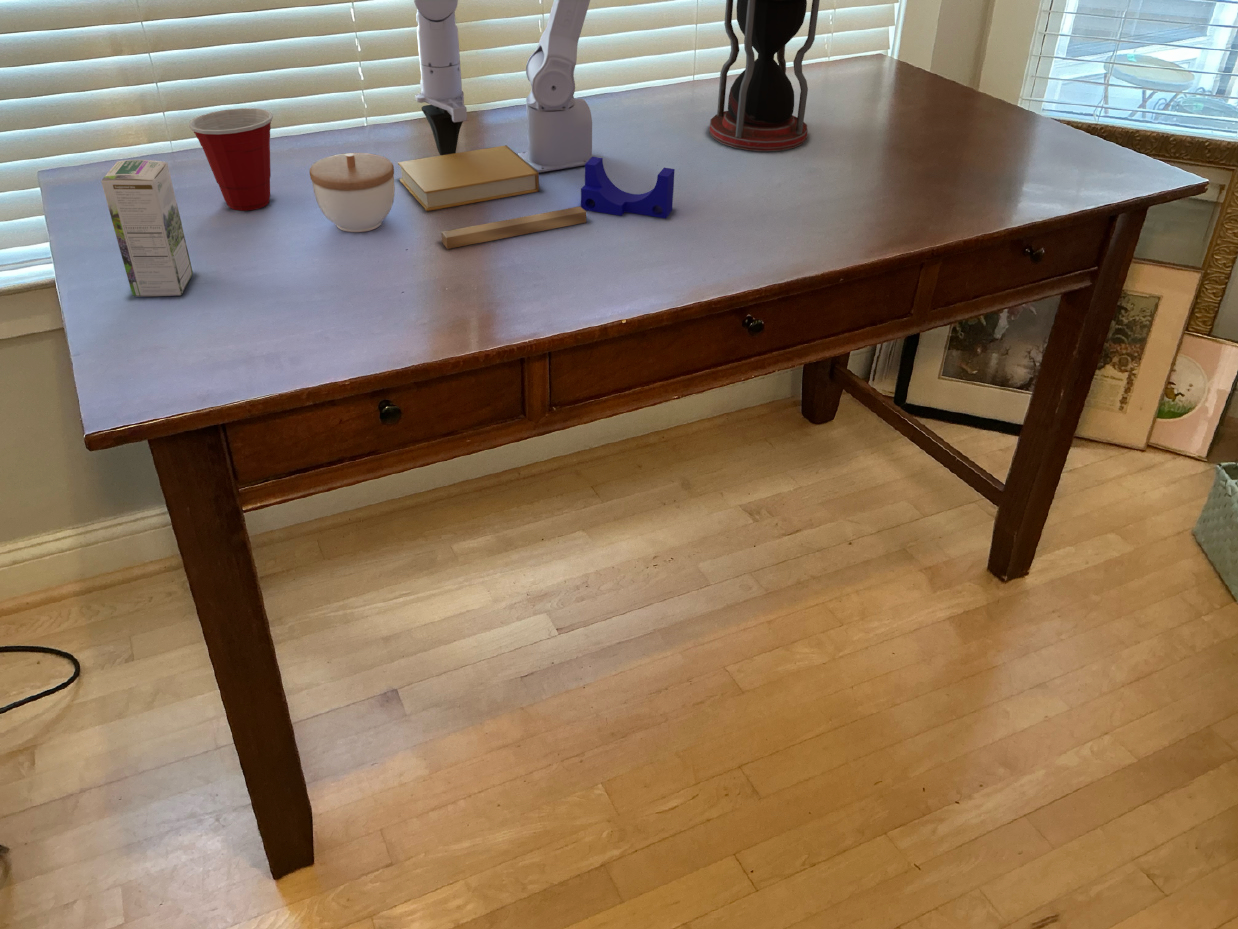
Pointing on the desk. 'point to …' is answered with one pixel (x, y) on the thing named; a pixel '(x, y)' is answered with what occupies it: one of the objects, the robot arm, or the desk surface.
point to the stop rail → (513, 227)
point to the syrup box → (148, 227)
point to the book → (468, 177)
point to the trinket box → (354, 189)
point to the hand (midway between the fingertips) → (447, 154)
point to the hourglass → (764, 77)
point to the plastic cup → (238, 154)
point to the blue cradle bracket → (625, 193)
